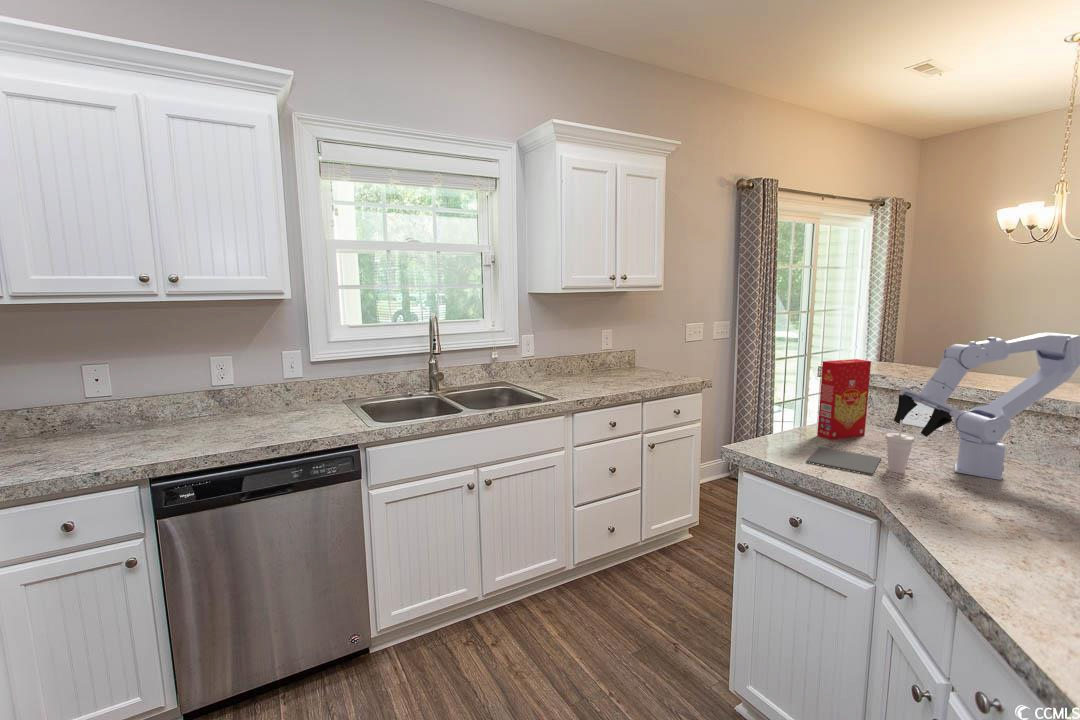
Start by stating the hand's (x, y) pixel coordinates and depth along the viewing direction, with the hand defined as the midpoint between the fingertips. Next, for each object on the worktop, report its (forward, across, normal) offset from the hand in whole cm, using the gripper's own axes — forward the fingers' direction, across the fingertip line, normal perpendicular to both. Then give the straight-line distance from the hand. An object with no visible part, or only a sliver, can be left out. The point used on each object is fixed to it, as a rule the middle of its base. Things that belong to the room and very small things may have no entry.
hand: (909, 428), depth 138 cm
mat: (+16, -9, 0) cm, 19 cm away
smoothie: (+11, +1, +4) cm, 12 cm away
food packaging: (+10, -28, +20) cm, 36 cm away
